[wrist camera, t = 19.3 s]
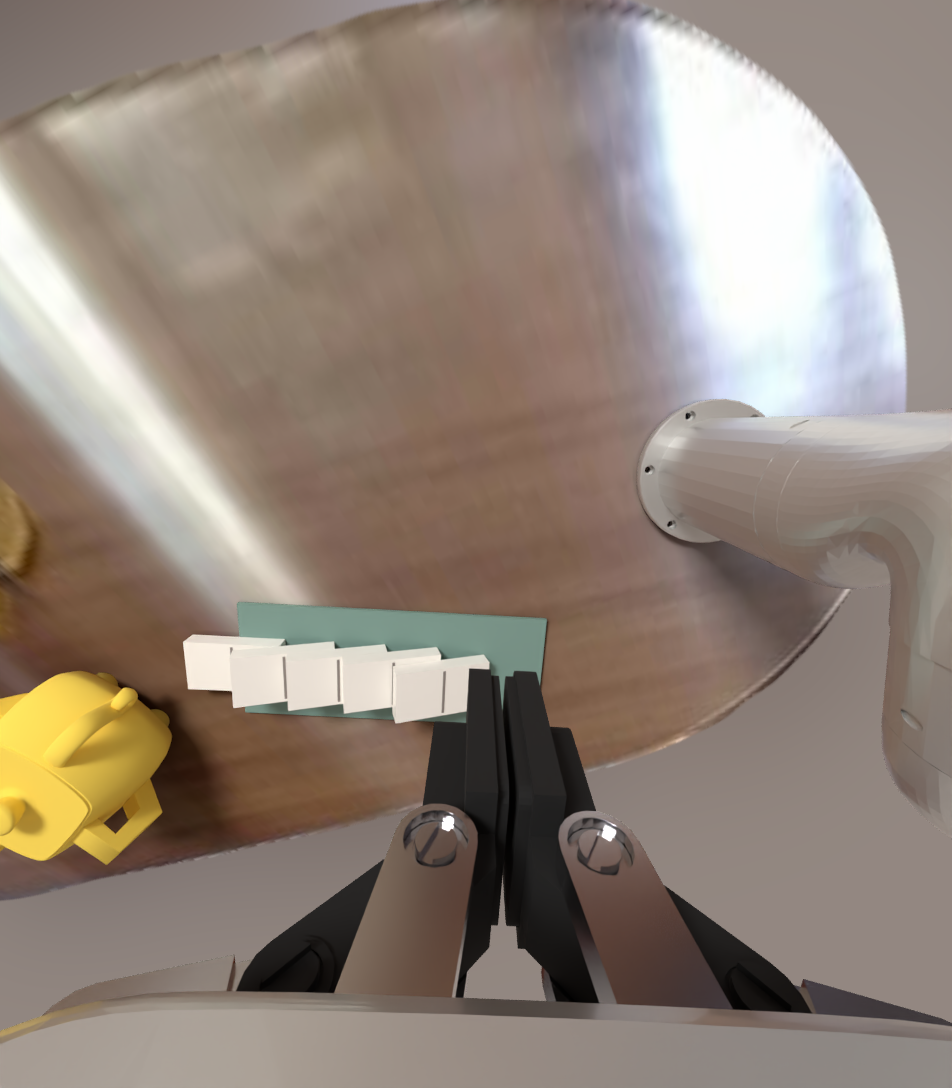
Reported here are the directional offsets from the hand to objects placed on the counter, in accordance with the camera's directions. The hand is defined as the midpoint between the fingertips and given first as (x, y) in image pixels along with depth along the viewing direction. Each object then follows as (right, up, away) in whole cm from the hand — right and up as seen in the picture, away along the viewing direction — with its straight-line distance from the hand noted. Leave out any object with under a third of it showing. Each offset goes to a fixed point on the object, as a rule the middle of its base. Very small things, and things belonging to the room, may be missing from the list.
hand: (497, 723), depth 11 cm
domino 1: (-20, -8, +34) cm, 40 cm away
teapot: (-39, -15, +37) cm, 56 cm away
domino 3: (-9, -8, +34) cm, 36 cm away
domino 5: (0, -9, +34) cm, 36 cm away
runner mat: (-9, -8, +35) cm, 37 cm away
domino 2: (-14, -8, +34) cm, 38 cm away
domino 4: (-4, -8, +34) cm, 35 cm away
